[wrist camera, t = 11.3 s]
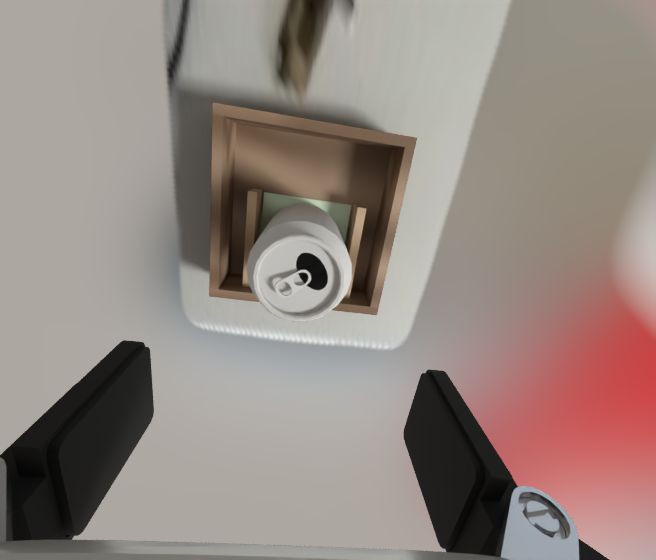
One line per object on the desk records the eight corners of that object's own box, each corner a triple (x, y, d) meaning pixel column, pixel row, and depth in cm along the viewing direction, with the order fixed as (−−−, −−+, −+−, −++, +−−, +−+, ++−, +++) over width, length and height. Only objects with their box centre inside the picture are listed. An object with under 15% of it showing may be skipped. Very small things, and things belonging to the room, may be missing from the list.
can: (351, 253, 32) (374, 301, 21) (290, 286, 33) (279, 348, 22) (317, 188, 30) (321, 203, 19) (251, 225, 31) (217, 261, 19)
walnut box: (229, 112, 28) (212, 102, 23) (400, 142, 29) (417, 138, 25) (223, 277, 33) (209, 296, 29) (367, 294, 35) (376, 315, 30)
